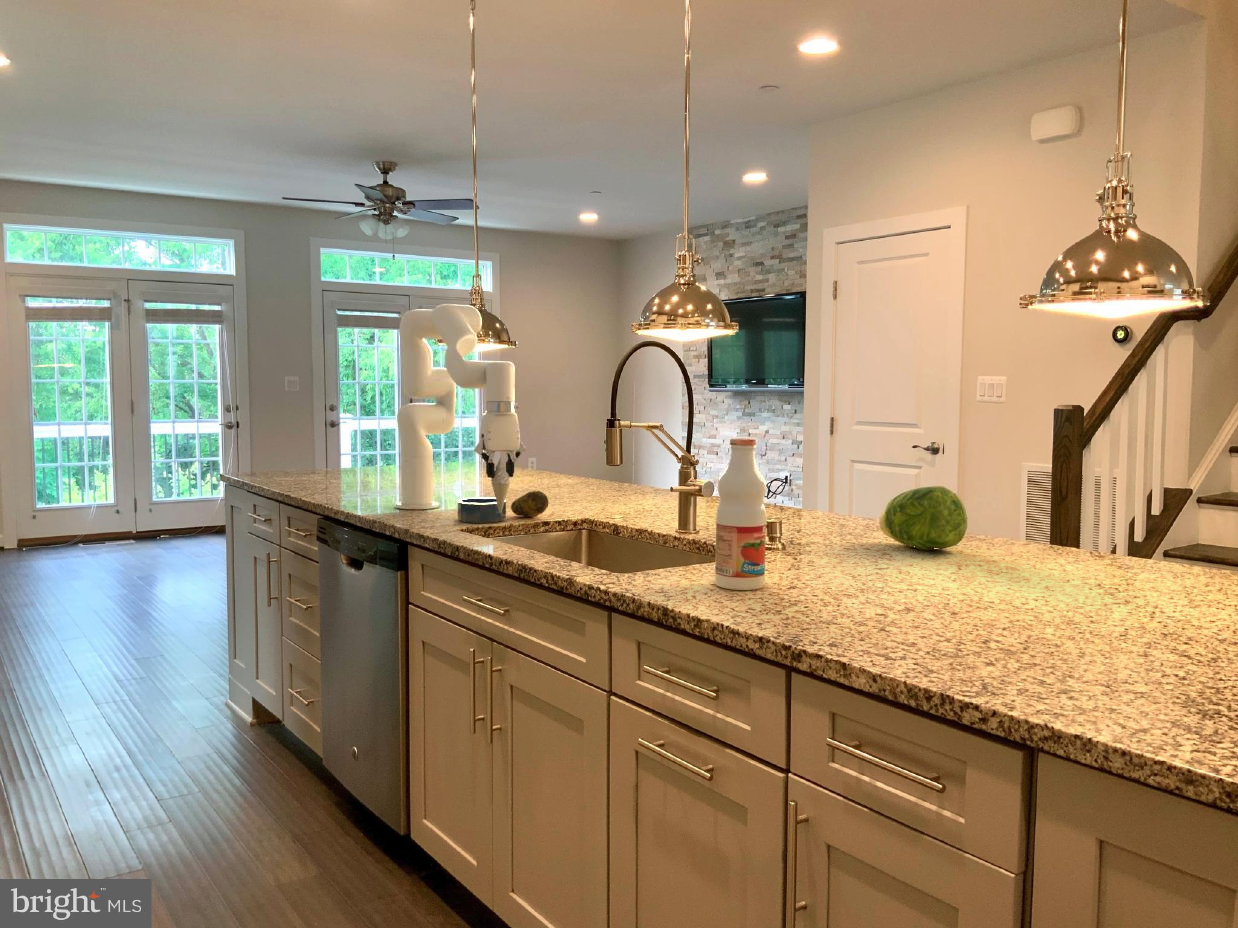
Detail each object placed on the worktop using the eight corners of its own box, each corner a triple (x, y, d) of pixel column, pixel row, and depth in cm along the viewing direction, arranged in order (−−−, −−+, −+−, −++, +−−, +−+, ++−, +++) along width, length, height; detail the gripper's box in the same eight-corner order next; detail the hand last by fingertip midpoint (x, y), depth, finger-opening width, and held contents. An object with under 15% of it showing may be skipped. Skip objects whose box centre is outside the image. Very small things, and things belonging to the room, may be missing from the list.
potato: (535, 514, 271) (535, 486, 270) (552, 520, 259) (552, 491, 258) (508, 515, 267) (508, 488, 266) (524, 521, 255) (524, 493, 255)
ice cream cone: (488, 511, 248) (489, 456, 247) (507, 511, 250) (507, 456, 249) (493, 514, 244) (493, 457, 242) (511, 513, 245) (512, 457, 244)
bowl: (450, 518, 259) (450, 499, 259) (493, 515, 266) (493, 496, 266) (469, 525, 248) (469, 504, 248) (513, 521, 255) (513, 501, 255)
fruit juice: (725, 578, 183) (729, 437, 181) (771, 583, 179) (775, 438, 176) (706, 587, 175) (710, 439, 172) (754, 593, 170) (758, 441, 168)
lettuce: (914, 550, 233) (894, 492, 234) (988, 534, 217) (966, 472, 218) (876, 566, 223) (856, 506, 224) (950, 551, 207) (928, 486, 208)
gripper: (522, 407, 252) (522, 474, 254) (464, 408, 243) (464, 477, 245) (535, 408, 246) (535, 477, 247) (476, 409, 237) (476, 479, 238)
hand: (500, 476), depth 246 cm, fingers closed on ice cream cone, 4 cm apart
